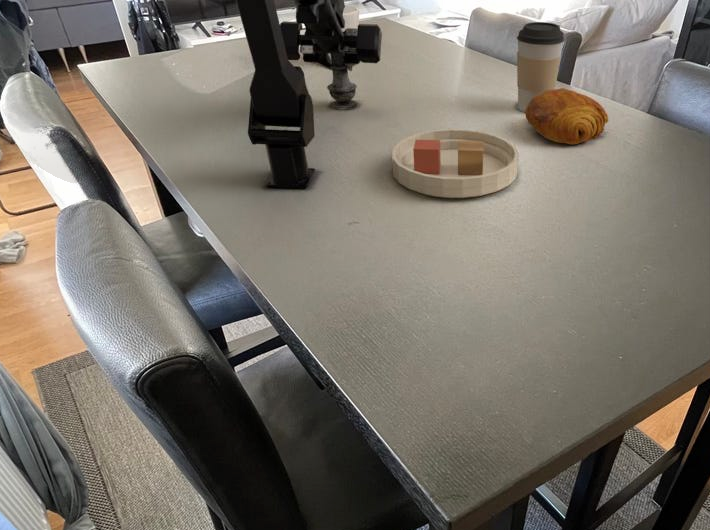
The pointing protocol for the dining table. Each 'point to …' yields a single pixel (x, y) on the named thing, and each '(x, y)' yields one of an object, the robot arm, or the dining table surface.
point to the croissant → (566, 116)
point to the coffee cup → (537, 60)
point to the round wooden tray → (448, 184)
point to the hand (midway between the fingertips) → (341, 68)
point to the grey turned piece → (341, 84)
